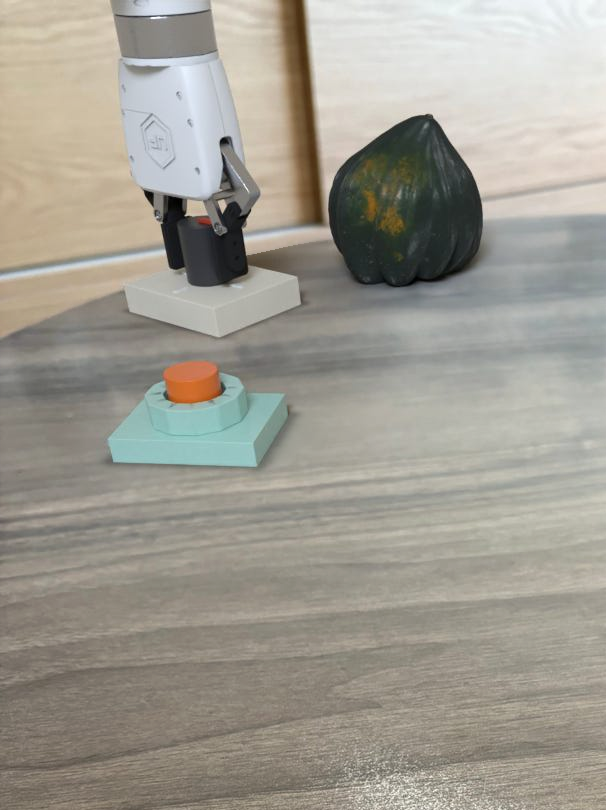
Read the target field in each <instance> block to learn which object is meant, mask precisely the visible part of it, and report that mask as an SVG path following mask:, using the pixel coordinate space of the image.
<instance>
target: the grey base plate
mask: <svg viewBox="0 0 606 810" xmlns="http://www.w3.org/2000/svg"><path fill="white" fill-rule="evenodd" d="M123 289H124V294H125V298H126V303H127V306H128V311H129V313H133V314H136V315H140V316H143V317H146V318H150V319H154V320H157V321H160V322H164V323H166V324H167V323H168V324H170V325H174V326H178V327H181V328H185V329H188V330H191V331H194V332H198V333H202V334H204V335H209V336H212V337H215V338H221V337H224V336H226V335H230V334H231V333H234V332H236V331H238V330H239V331H240V330H241V329H244V328H246V327H249V326H251V325H254V324H256V323H258V322H261V321H263V320H266V319H268V318H271V317H273V316H276V315H278V314H281V313H284V312H286V311H289V310H291V309H293V308H297V307H298V306H300V305H302V301H301V293H300V284H299V277H298V276H296V275H293V274H288V273H285V272H280V271H275V270H271V269H267V268H264V267H263V268H262V267H258V266H254V265H250V264H248V273H247V274H246V275H244V276H241V277H238V278H235V279H233V280H230V281H229V282H227V283H224V284H220V285H215V286H195V285H191V284H189V283H188V281H187V276H186V270H185V267H184V268H181V269H178V270H173V269H170V267H168V268H166V269H164V270H160V271H157V272H154V273H151V274H148V275H144V276H142V277H139V278H137V279H134V280H130V281H128V282H125V283H123Z"/></svg>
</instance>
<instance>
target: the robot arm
mask: <svg viewBox="0 0 606 810" xmlns="http://www.w3.org/2000/svg"><path fill="white" fill-rule="evenodd" d="M109 3H110V7H111V12H112V16H113V21H114V27H115V32H116V36H117V41H118V47H119V51H120V56H121V58H118V60H117V62H118V63H117V71H118V72H117V77H118V95H119V106H120V113H121V121H122V127H123V128H122V129H123V135H124V141H125V147H126V152H127V159H128V163H129V168H130V175H131V177H132V180H133V181H134V183H135V184H136V185H137V186H138V187H139V188H140V189H141V191H143V194H144V197H145V199H146V200H147V201H148V203H149V204H150V205H151V208H152V209H153V217H154V219H155V220H156V221H157V222H158V223H160V225H159V226H160V230H161V234H162V239H163V244H164V249H165V255H166V259H167V265H168V268H170V269H173V270H178V269H181V268H184V267H185V265H184V260H183V255H182V249H181V244H180V239H179V234H178V228H177V222H178V221H180V220H182V219H185V218H188V217H193V215H187V213H188V200H190V201H196V202H202V203H203V205H204V208H205V210H206V213H207V215H208V216H209V218H210V221H211V224H212V226H213V229H214V231H215V233H214V234H210V241H211V247H212V252H213V258H214V264H215V270H216V275H217V279H218V280H219V281H221V282H227V281H230V280H233V279H235V278H238V277H241V276H244V275H246V274H247V273H248V265H249V264H248V257H247V251H246V245H245V238H244V231H243V229H246V227H247V224H248V223H247V222H248V221H247V219H248V218H249V216H250V214H251V213H252V209H253V208H254V206H255V204H256V203H257V201H258V200H259V199H260V198H261V189H260V187H259V185H258V184H257V183H256V181H255V180H254V178H253V177H252V175H251V174H250V172H249V171H248V169H247V167H246V159H245V152H244V151H245V150H244V144H243V140H242V134H241V129H240V124H239V119H238V118H239V117H238V115H237V111H236V106H235V102H234V98H233V94H232V90H231V87H230V83H229V79H228V75H227V73H226V70H225V66H224V63H223V60H222V58H220V55H219V48H218V41H217V35H216V29H215V23H214V22H215V21H214V16H213V10H212V2H211V0H109ZM220 190H221V191H220ZM223 200H224V203H225V205H226V207H225V209H224V210H223V212H222V209H221V206H220V204H219V202H220V201H223Z"/></svg>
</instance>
